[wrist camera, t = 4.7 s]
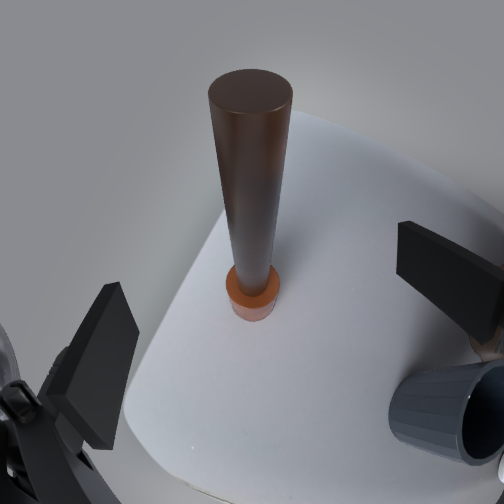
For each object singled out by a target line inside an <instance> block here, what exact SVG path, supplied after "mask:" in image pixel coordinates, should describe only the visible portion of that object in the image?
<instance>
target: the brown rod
mask: <svg viewBox="0 0 504 504" xmlns="http://www.w3.org/2000/svg"><path fill="white" fill-rule="evenodd" d="M292 97H293V90H292V87H291V85H290V84H289V82H288V81H287V80H286V79H284V78H283V77H282V76H280V75H278V74H276V73H273V72H269V71H265V70H259V69H243V70H237V71H233V72H229V73H227V74H224V75H222V76H220V77H219V78H217V79H216V80H215V81H214V82H213V83H212V84H211V86H210V87H209V90H208V98H209V105H210V112H211V119H212V126H213V132H214V139H215V146H216V152H217V159H218V166H219V172H220V178H221V185H222V191H223V197H224V204H225V210H226V216H227V222H228V228H229V234H230V240H231V246H232V252H233V258H234V264H235V265H234V266H233V267H232V268H231V269H230V271H229V273H228V275H227V278H226V289H227V293H228V296H229V299H230V302H231V305H232V308H233V310H234V312H235V313H236V314H237V315H238V316H239V317H240V318H242V319H244V320H247V321H259V320H262V319H264V318H266V317H267V316H268V315H269V314H270V313H271V311H272V310H273V307H274V304H275V301H276V297H277V294H278V291H279V285H280V283H279V277H278V274H277V272H276V270H275V269H274V267H273V266H272V265H270V263H271V257H272V250H273V243H274V236H275V229H276V222H277V214H278V207H279V200H280V192H281V185H282V177H283V170H284V162H285V154H286V146H287V138H288V130H289V122H290V114H291V105H292Z"/></svg>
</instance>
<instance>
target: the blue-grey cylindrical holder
mask: <svg viewBox="0 0 504 504" xmlns="http://www.w3.org/2000/svg"><path fill="white" fill-rule="evenodd" d="M389 425H390V429H391V431H392V433H393V434H394V436H395V437H396V438H397V439H398V440H399V441H401V442H403V443H405V444H406V445H409V446H412V447H414V448H417V449H420V450H423V451H426V452H428V453H431V454H434V455H437V456H440V457H443V458H447V459H450V460H453V461H456V462H460V463H463V464H467V465H470V466H481V465H484V464H486V463H488V462H490V461H492V460H493V459H495V458H496V457H497V456H498V455H499V454H500V453H501V452H502V451H503V450H504V359H503V358H501V359H496V360H490V361H485V362H479V363H473V364H467V365H460V366H453V367H445V368H437V369H428V370H421V371H418V372H415V373H413V374H412V375H410V376H409V377H407V378H406V379H405V380H404V381H403V382H402V383H401V384H400V386H399V387H398V388H397V390H396V392H395V393H394V395H393V398H392V400H391V403H390V407H389Z"/></svg>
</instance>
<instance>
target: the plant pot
mask: <svg viewBox="0 0 504 504" xmlns="http://www.w3.org/2000/svg"><path fill="white" fill-rule="evenodd" d="M500 268H501V269H502V270H504V264H503V265H502V266H501V267H500ZM501 332H502V328H501V327H499V326H498V327H497V329H496V332H495V335H494V338H493V339H492V340H490V341H489V342H487V343H486V344H484V345H483V346H481V345H480V344H479V343H478V342H477V341H476V340H475V339H474V338H473V337H472V336H470V335H469V339H470V343H471V346H472V348H473V350H474V352H475V353H476V354H478V355H479V356H480V357H481V359H482V361H483V362H485V361H490V360H496V359H501V358H503V354H502V353H500V351H501V348H502V346H501V347H499V349H498V351H497V353H494V352H495V347H496V345H497V342H498V340H499V337H500V334H501ZM503 359H504V358H503Z"/></svg>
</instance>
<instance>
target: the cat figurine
mask: <svg viewBox="0 0 504 504" xmlns="http://www.w3.org/2000/svg"><path fill="white" fill-rule="evenodd" d="M498 476H499V478H500V480H501V481H502V482H503V483H504V454H503V456H502V458H501V461H500V465H499V469H498Z"/></svg>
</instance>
